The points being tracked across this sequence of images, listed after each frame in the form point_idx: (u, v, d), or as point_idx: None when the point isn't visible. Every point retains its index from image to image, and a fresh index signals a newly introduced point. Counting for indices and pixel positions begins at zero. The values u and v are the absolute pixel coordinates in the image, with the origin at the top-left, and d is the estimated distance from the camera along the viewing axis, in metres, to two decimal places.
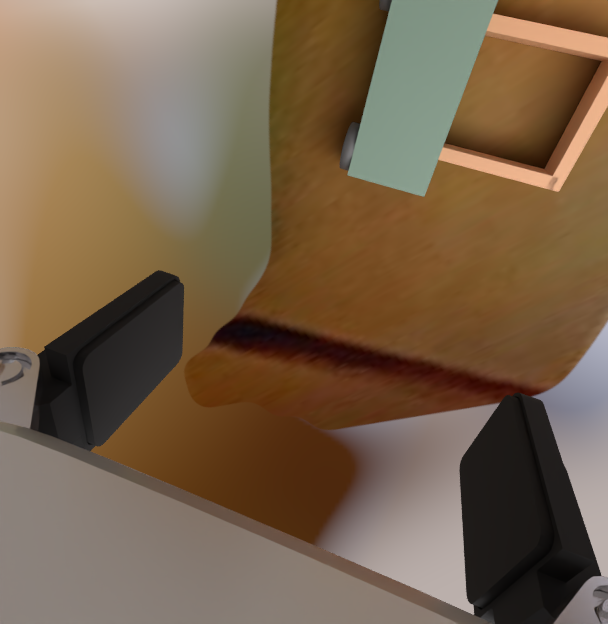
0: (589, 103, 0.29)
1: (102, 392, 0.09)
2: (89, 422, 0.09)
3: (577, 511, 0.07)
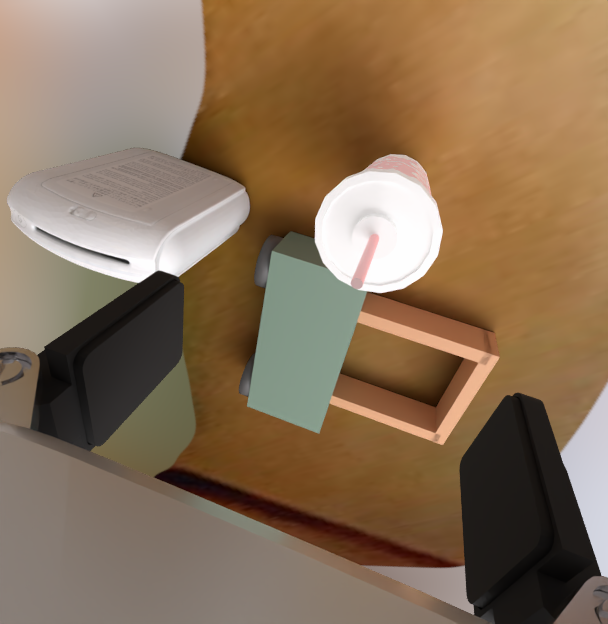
0: (461, 383, 0.29)
1: (102, 392, 0.09)
2: (89, 422, 0.09)
3: (577, 511, 0.07)
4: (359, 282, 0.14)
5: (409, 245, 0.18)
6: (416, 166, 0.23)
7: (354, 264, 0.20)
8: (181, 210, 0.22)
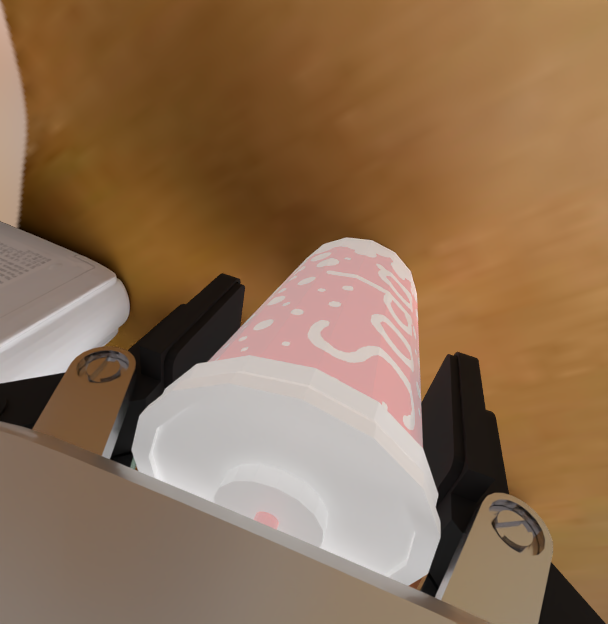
0: None
1: None
2: None
3: (489, 442, 0.08)
4: None
5: (355, 536, 0.07)
6: (388, 276, 0.12)
7: None
8: None
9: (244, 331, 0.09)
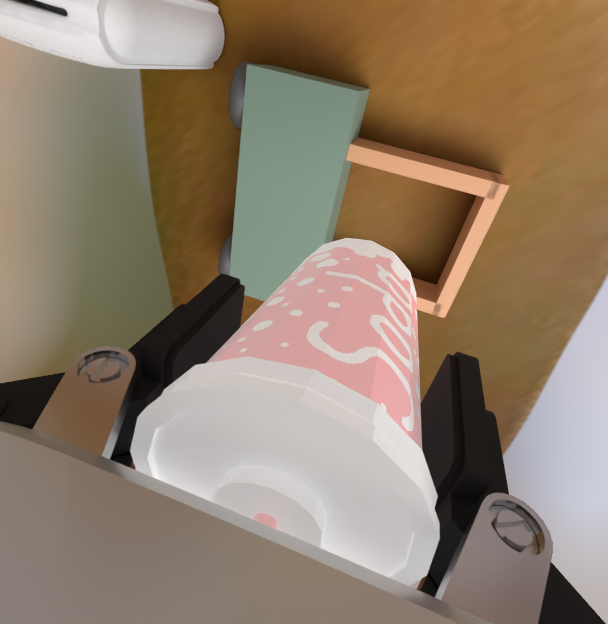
0: (465, 234, 0.26)
1: None
2: None
3: (489, 442, 0.08)
4: None
5: (355, 537, 0.07)
6: (388, 276, 0.11)
7: None
8: None
9: (243, 332, 0.09)
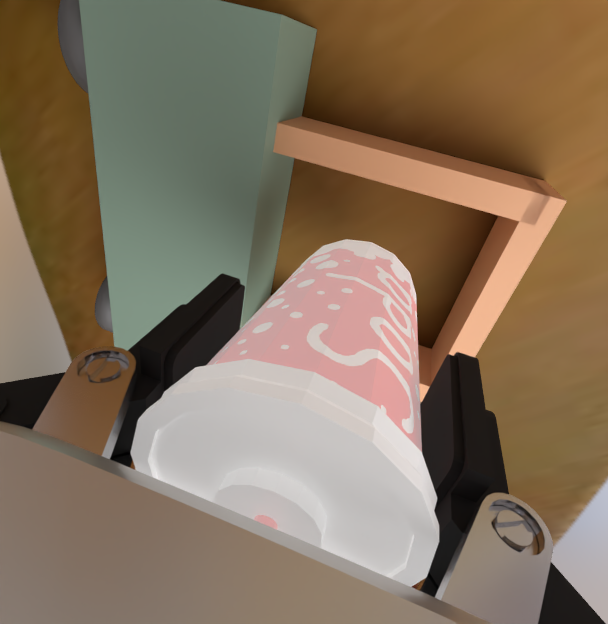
0: (481, 281, 0.15)
1: None
2: None
3: (489, 442, 0.08)
4: None
5: (354, 539, 0.07)
6: (388, 278, 0.12)
7: None
8: None
9: (243, 334, 0.09)
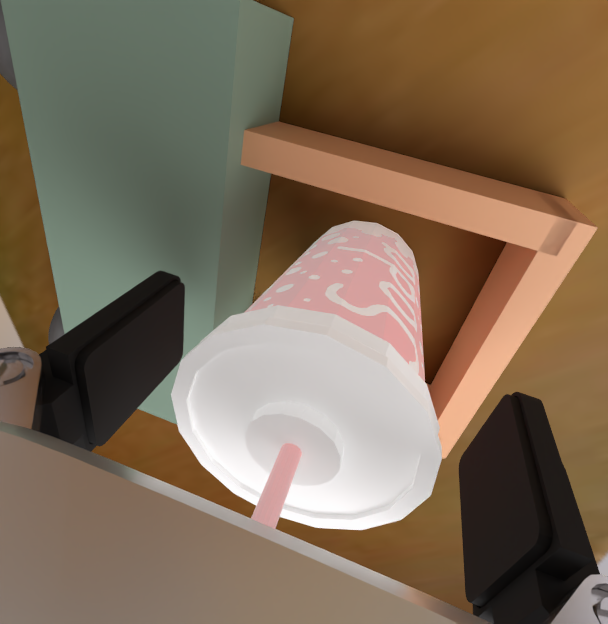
0: (489, 317, 0.13)
1: (104, 392, 0.09)
2: (91, 422, 0.09)
3: (576, 510, 0.07)
4: None
5: (368, 465, 0.08)
6: (393, 252, 0.13)
7: (261, 475, 0.10)
8: None
9: (267, 294, 0.10)
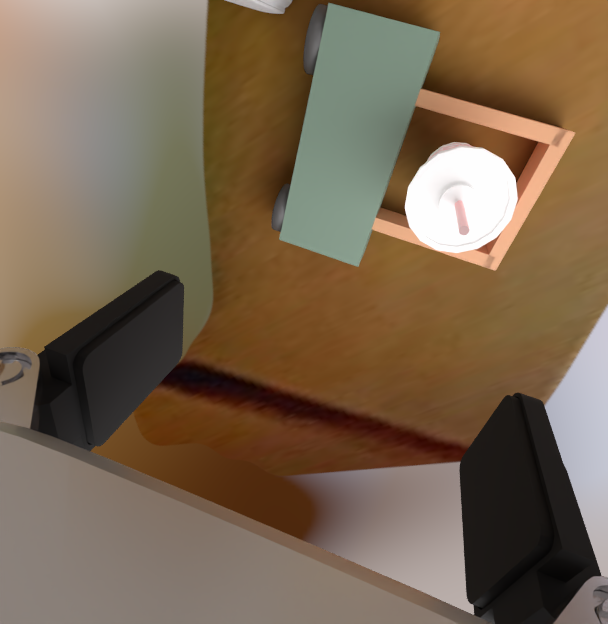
0: (524, 184, 0.27)
1: (102, 392, 0.09)
2: (89, 422, 0.09)
3: (577, 511, 0.07)
4: (466, 229, 0.18)
5: (487, 211, 0.22)
6: None
7: (436, 227, 0.24)
8: None
9: None
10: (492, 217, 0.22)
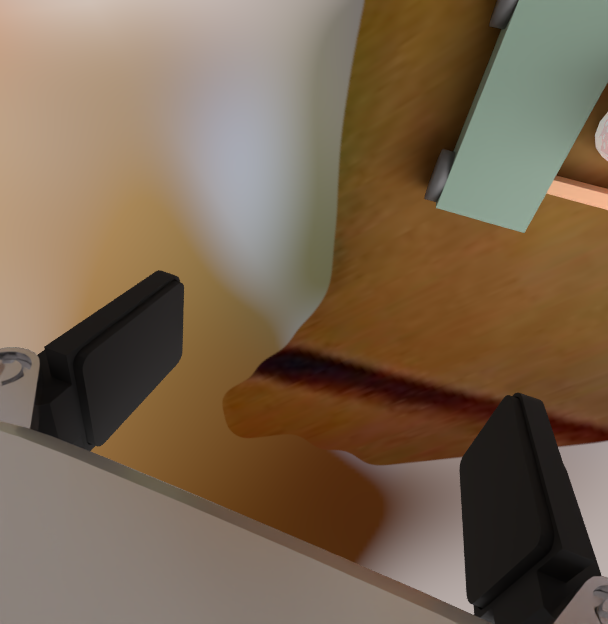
0: None
1: (102, 392, 0.09)
2: (89, 422, 0.09)
3: (577, 511, 0.07)
4: None
5: None
6: None
7: None
8: None
9: None
10: None
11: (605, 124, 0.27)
